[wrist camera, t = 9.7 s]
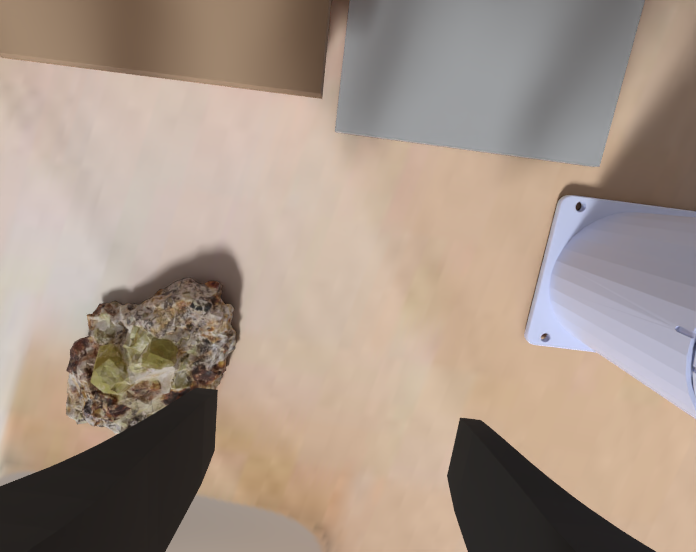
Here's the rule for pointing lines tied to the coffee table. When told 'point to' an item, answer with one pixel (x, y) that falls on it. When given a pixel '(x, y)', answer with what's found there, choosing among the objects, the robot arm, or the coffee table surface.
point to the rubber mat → (488, 74)
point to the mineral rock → (149, 354)
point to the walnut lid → (177, 39)
